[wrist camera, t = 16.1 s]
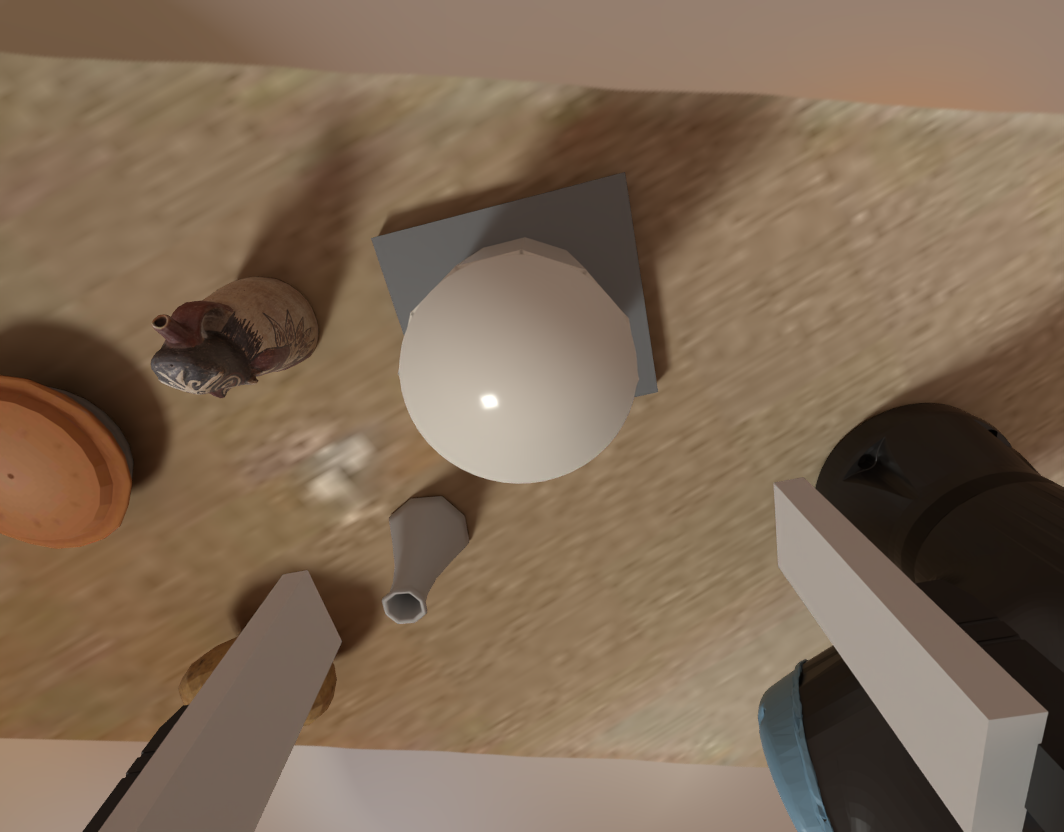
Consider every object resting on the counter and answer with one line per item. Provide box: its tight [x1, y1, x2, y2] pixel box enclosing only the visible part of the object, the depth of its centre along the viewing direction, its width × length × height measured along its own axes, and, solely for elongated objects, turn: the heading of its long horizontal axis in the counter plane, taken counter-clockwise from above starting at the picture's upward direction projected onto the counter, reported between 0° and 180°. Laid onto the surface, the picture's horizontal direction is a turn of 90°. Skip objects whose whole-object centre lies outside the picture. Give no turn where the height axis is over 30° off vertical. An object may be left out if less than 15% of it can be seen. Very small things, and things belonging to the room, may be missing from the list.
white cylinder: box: [398, 237, 639, 483], centre depth 30 cm, size 11×11×14 cm
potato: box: [178, 637, 337, 726], centre depth 47 cm, size 10×14×8 cm
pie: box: [0, 375, 133, 549], centre depth 40 cm, size 15×16×5 cm
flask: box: [382, 496, 469, 624], centre depth 41 cm, size 7×7×10 cm
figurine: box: [151, 277, 318, 398], centre depth 33 cm, size 7×7×12 cm
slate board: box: [371, 172, 658, 397], centre depth 37 cm, size 18×16×2 cm
